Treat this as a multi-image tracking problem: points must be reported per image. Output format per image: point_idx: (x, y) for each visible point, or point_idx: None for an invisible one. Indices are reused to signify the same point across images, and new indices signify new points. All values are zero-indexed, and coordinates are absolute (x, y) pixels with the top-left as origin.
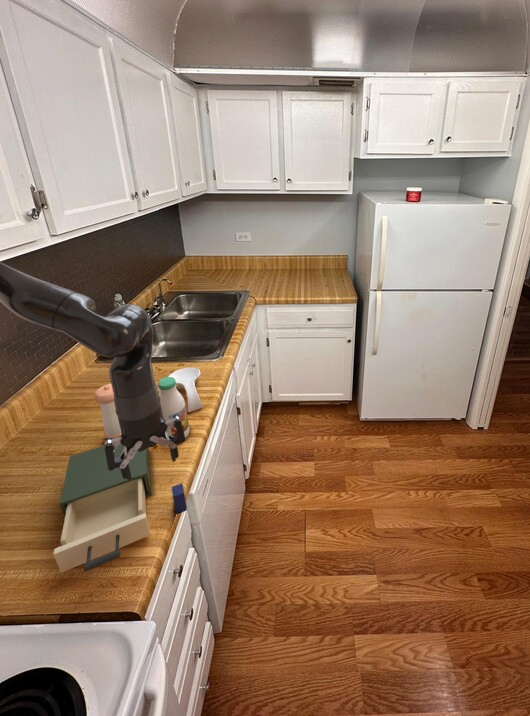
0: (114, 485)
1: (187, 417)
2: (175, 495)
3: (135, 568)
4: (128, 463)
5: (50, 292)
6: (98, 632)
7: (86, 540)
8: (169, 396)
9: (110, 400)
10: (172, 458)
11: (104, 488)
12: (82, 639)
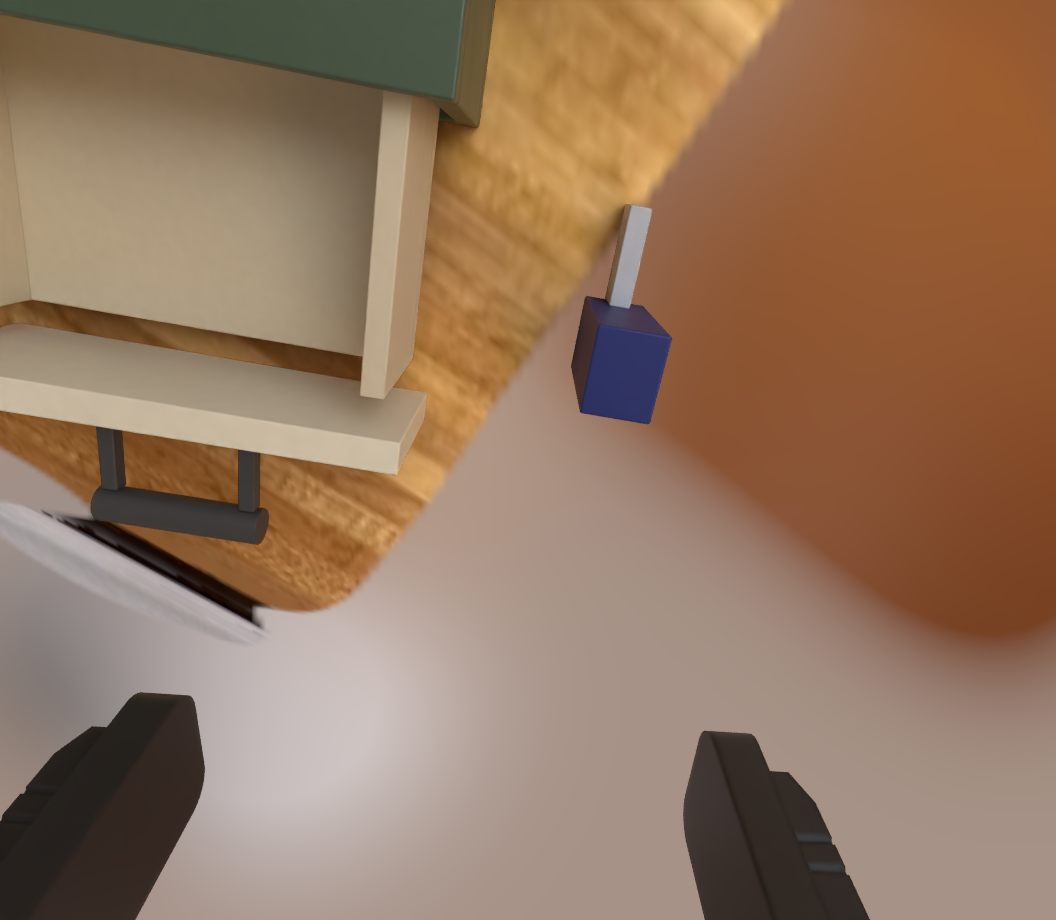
0: (185, 50)
1: None
2: (597, 410)
3: (347, 506)
4: (75, 880)
5: None
6: (219, 632)
7: (62, 415)
8: None
9: None
10: (704, 895)
11: (100, 32)
12: (170, 622)
